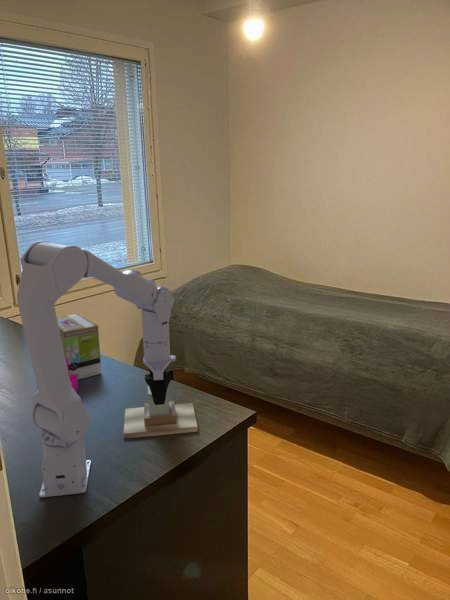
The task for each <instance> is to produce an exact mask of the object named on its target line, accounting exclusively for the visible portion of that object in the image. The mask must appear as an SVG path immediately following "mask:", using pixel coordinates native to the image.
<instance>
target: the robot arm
mask: <svg viewBox="0 0 450 600" xmlns="http://www.w3.org/2000/svg"><path fill="white" fill-rule="evenodd" d="M19 260H20V265H21V274H20V279H19V284H18V289H17V293H16V302H17V306H18V307H17V308H18V309H19V315H20V319H21V322H22V327H23V332H24V335H25V341H26V344H27V349H28V352H29V357H30V360H31V365H32V370H33V374H34V377H35V378H34V379H35V382H36V385H37V389H38V390H37V391H35V393H34V394H33V395H32V396H31V400H32V403H33V404H32V406H33V407H32V411H31V421H32V422H33V424H34V425H35V426H36V427H39V431H40V435H41V436H40V437H41V443H42V451H43V460H42V463H41V475H42V481H43V482H42V485H41V489H40V491H39V494H38V495H39V498H48V497H49V498H50V497H58V496H67V495H76V494H84V493H86V492H87V487H88V482H89V477H90V472H91V471H90V469H91V464H92V461H91V459H87V457H86V450H85V449H86V448H85V440H84V439H85V438H84V437H85V436H86V433H87V431H88V430H89V428H90V424H91V417H90V414H89V412H88V410H87V409H86V408H85V407H84V405H83V400H82V398H81V397H80V396H79V394H78V393H77V391H76V392H75V390H74V389H73V388H72V386H71V383H70V379H69V374H68V369H67V364H66V359H65V355H64V350H63V345H62V340H61V336H60V331H59V326H58V321H57V317H58V316H57V312H56V307H55V305H56V303H57V301H58V300H59V299H60V298H61V297H63V296H64V295H65V294H66V293H67V292H69V290H71V289H72V288H73V287H74V286H76V285H77V284H78V283H79V282H80V281H81V280H82V279H83V278H88V279H89V278H90V277H91V278H92V279H95V280H97V281H99V282H101V283H104V284H106V285H109V286H110V287H113V292H114V294H115V295H116V296H117V297H119V298H121V299H122V300H125V301H127V302H128V303H131V304H133V305H135V306H136V308H137V309H138V310H141V311H140V313H141V326H142V327H141V328H142V346H143V358H142V361H143V365H145V366H146V367H147V370H148V371H149V374H146V373H145V374H144V381H145V383H146V384H147V387H148V386H149V388H150V390H151V393H152V397H153V401H154V404H155V405H162V404H164V403H165V399H166V392H167V388H168V389H169V385H170V382H171V381H172V374H171V373H170V374H166V371H167V367H168V366H169V365H170V363H172V362H175V361H176V355H173V354H171V347H170V345H171V344H170V342H171V341H170V320H171V317H172V314H171V312H172V309H173V306H174V303H175V297H173V294H172V293H171V291H170V289H169V288H167V287H165V286H160V285H157V284H156V281H155V280H153V279H150V278H149V279H147V278H145V277H143V276H142V275H141V271H139V270H138V269H127V270H122V271H120V270H119V269H117V268H116V267H114V266H113V265H111V264H109V263H108V262H106V261H105V260H103V259H101V258H99V257H98V256H97V255H95V254H93V253H92V252H90V251H88V250H86V249H82V248H80V247H79V246H77V245H72V244H71V245H64V244H60V243H51V242H48V241H46V240H45V241H44V240H39V241H36V242H34V243H32V244H31V245H30V246H29V247H28V248H27V249H26V250H25V252H24V254H23V255H22V256H21V257H20V259H19Z"/></svg>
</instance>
